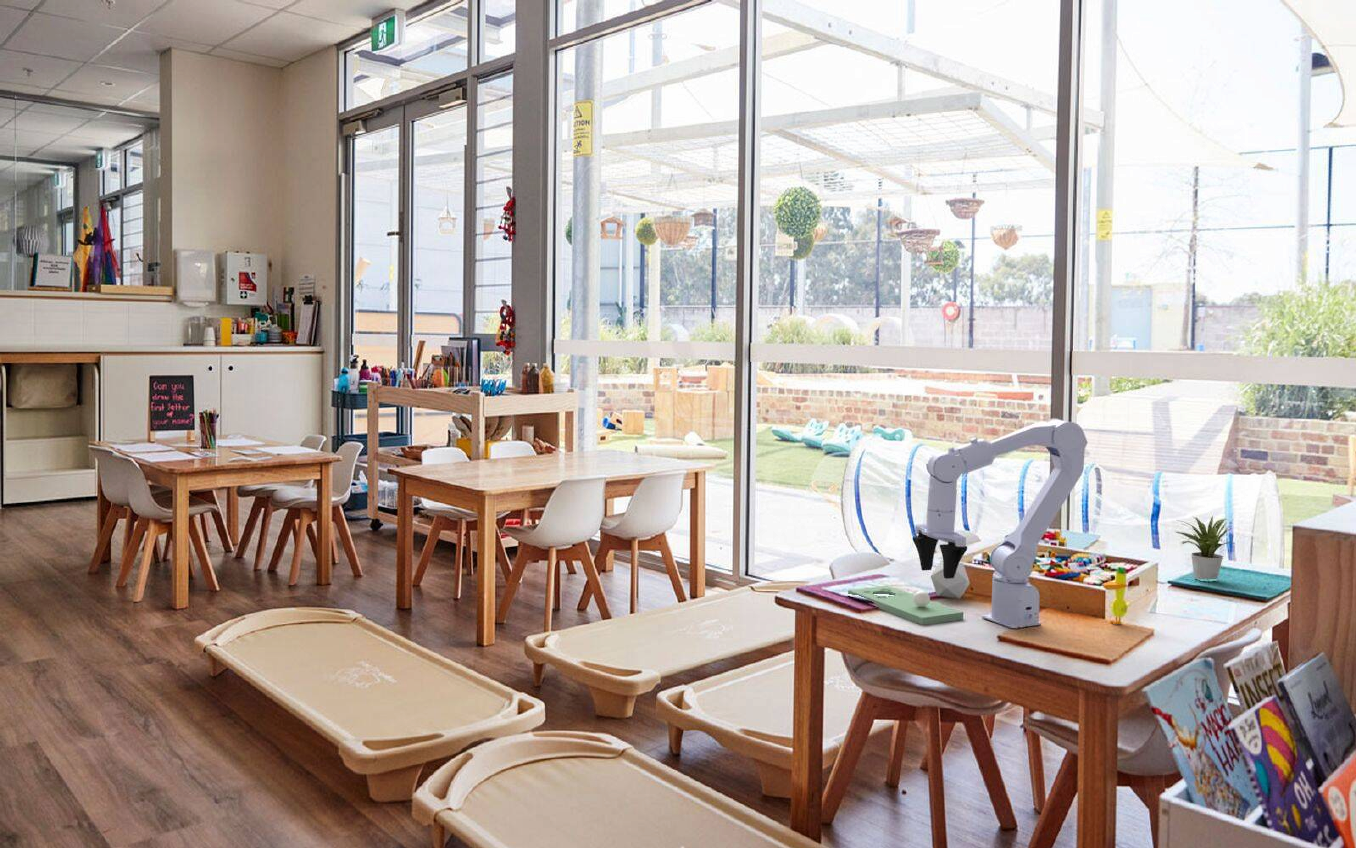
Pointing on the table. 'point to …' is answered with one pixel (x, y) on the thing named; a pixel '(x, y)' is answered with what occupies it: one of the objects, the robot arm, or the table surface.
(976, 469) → the robot arm
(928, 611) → the green
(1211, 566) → the house plant
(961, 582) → the die
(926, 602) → the ball
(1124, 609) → the toy figure
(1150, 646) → the table surface
